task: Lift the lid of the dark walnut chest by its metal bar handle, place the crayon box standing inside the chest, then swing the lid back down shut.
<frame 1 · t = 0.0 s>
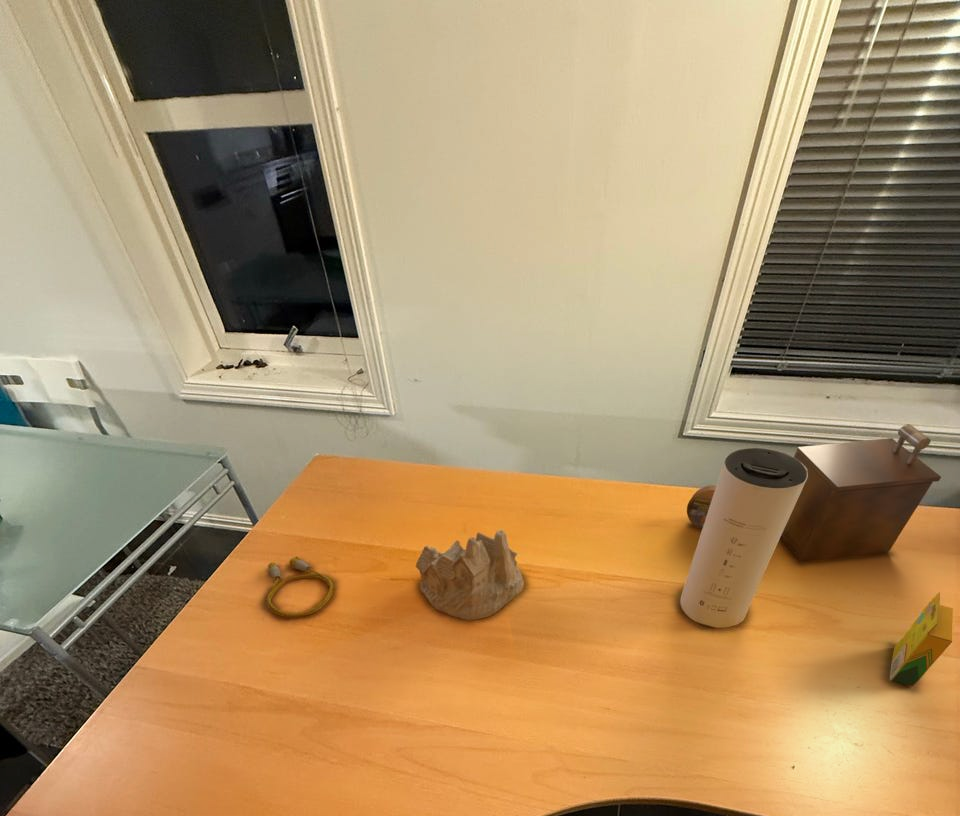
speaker: (712, 608, 90), on the table
ceramic cottage: (472, 587, 96), on the table
extension cord: (300, 590, 98), on the table
lid: (871, 450, 88), point 17 cm above the table, hinge at 0.0°
tin: (723, 530, 103), on the table
crayon box: (901, 668, 79), on the table
chest: (825, 537, 100), on the table
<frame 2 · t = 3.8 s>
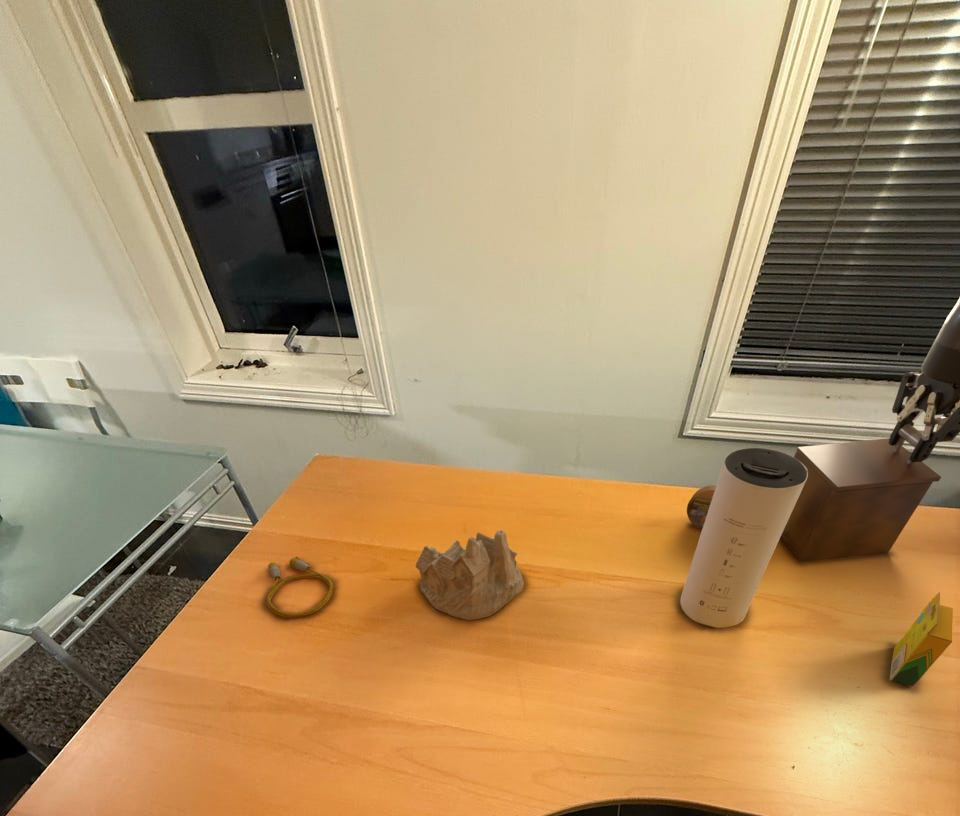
hand: (905, 451, 88), 16 cm above the table, tool pointing down, fingers closed on lid, 5 cm apart
lid: (871, 450, 88), point 17 cm above the table, hinge at 0.0°, touching gripper
everything else where it was.
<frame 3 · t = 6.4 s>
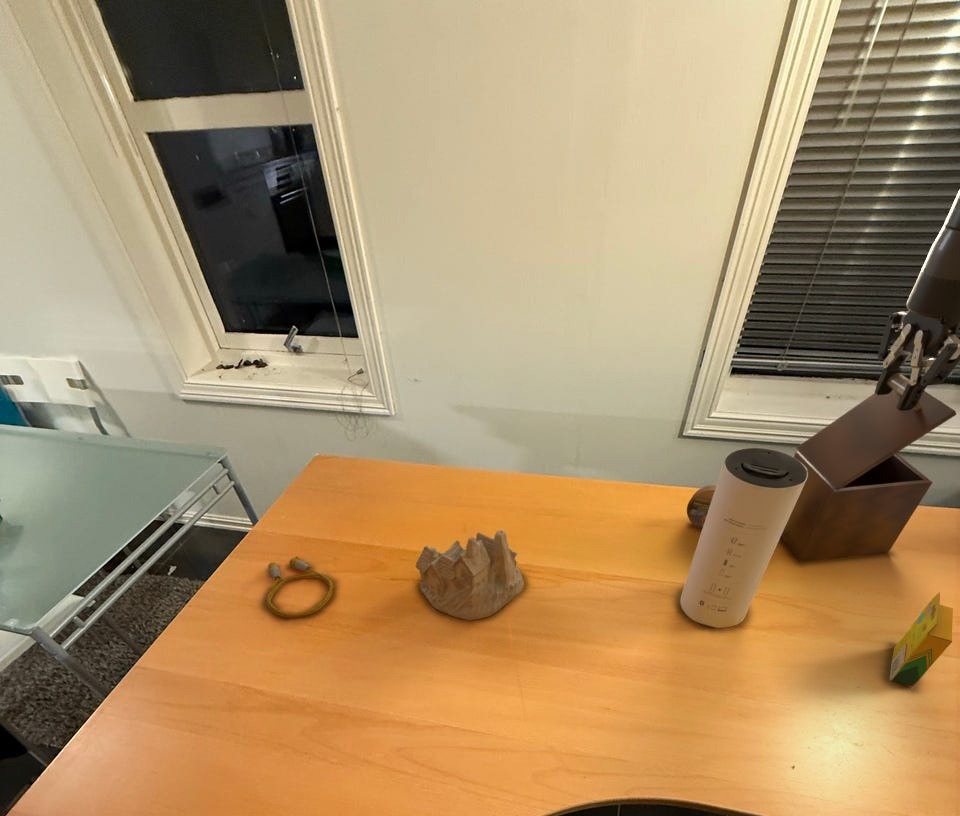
hand: (892, 400, 82), 25 cm above the table, tool pointing down, fingers closed on lid, 5 cm apart
lid: (864, 422, 84), point 22 cm above the table, hinge at 41.3°, touching gripper
everything else where it was.
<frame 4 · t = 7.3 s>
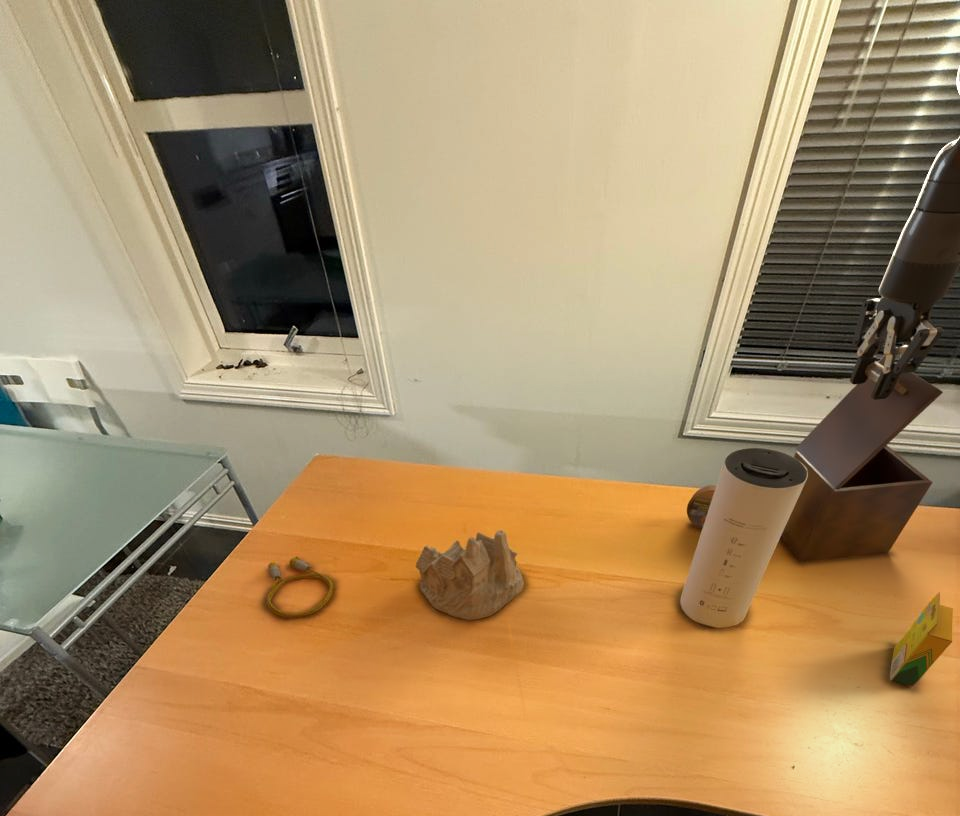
hand: (867, 389, 80), 27 cm above the table, tool pointing down, fingers closed on lid, 5 cm apart
lid: (851, 417, 83), point 23 cm above the table, hinge at 59.7°, touching gripper
everything else where it was.
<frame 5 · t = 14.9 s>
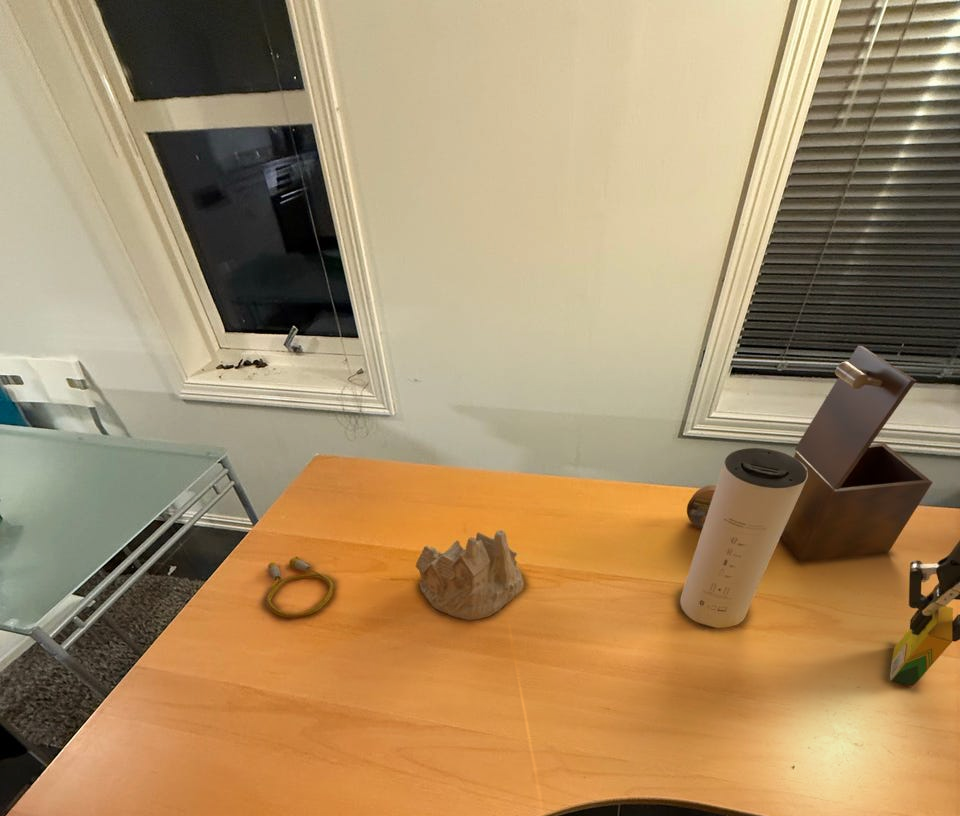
hand: (929, 634, 74), 7 cm above the table, tool pointing down, fingers closed on crayon box, 3 cm apart
lid: (835, 417, 83), point 23 cm above the table, hinge at 78.0°
crayon box: (901, 668, 79), on the table, touching gripper
everything else where it was.
when the fingers open (8 cm above the table, at t = 26.2 s): crayon box stays where it is, resting on chest.
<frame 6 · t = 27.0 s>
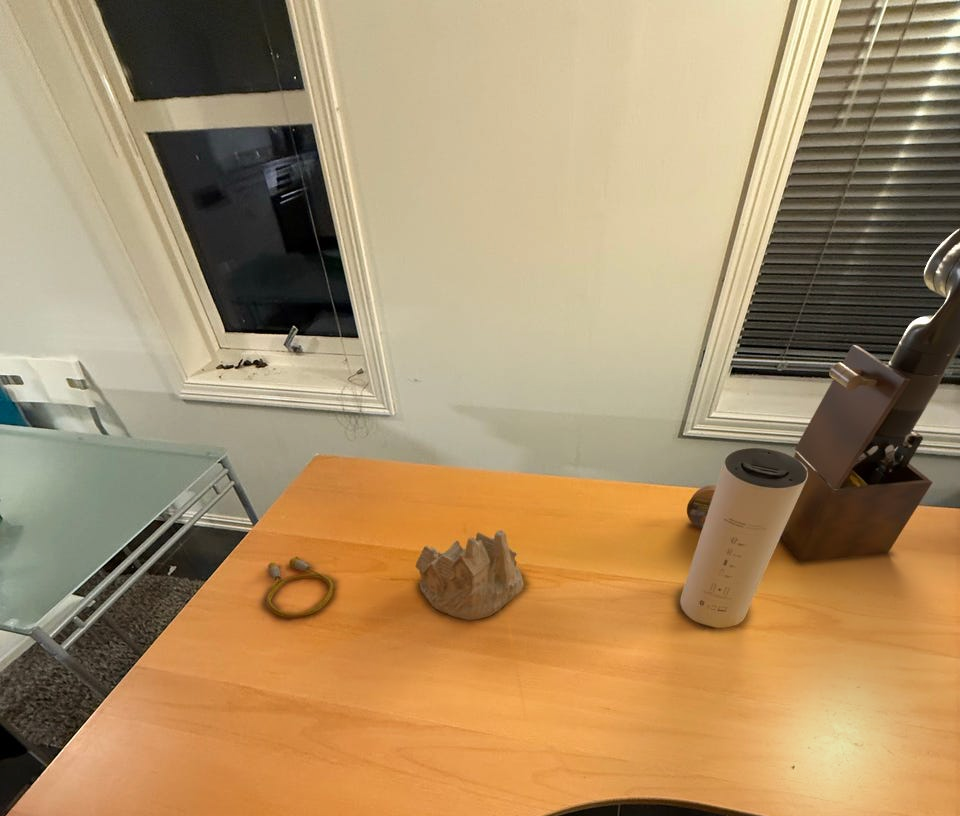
hand: (846, 492, 93), 9 cm above the table, tool pointing down, fingers open, 8 cm apart
lid: (831, 417, 83), point 23 cm above the table, hinge at 81.3°
crayon box: (834, 533, 100), point 1 cm above the table, touching chest
everything else where it was.
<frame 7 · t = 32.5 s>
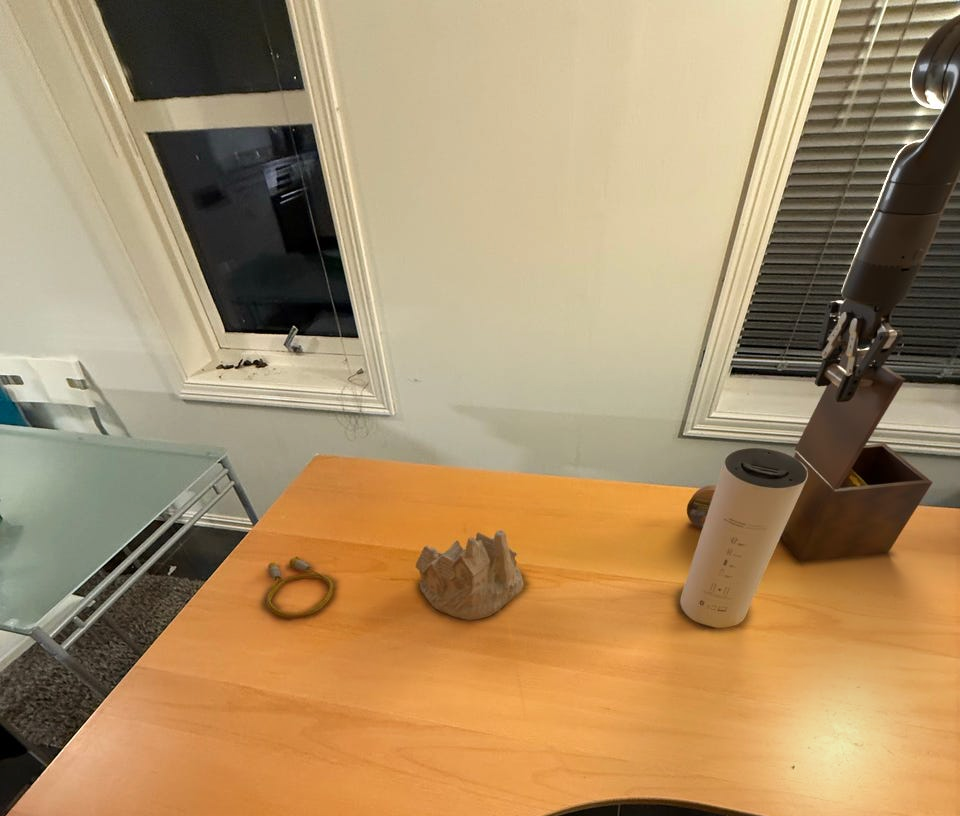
hand: (831, 392, 80), 27 cm above the table, tool pointing down, fingers closed on lid, 5 cm apart
lid: (829, 418, 83), point 23 cm above the table, hinge at 83.9°, touching gripper
everything else where it was.
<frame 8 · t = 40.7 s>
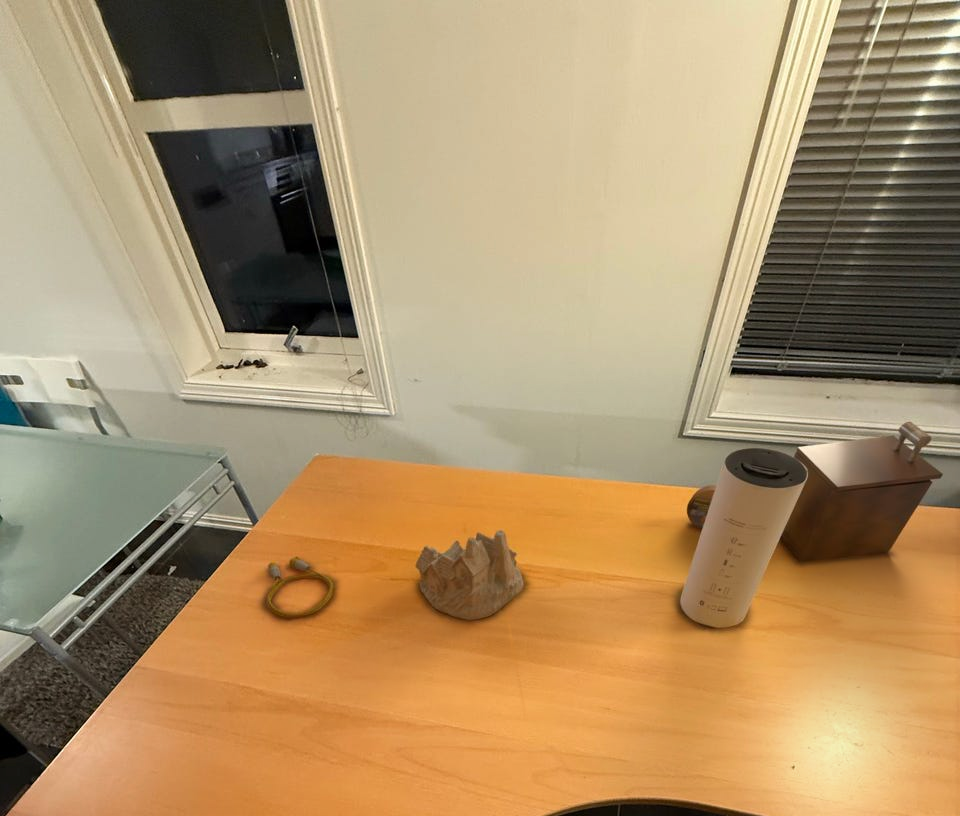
lid: (872, 449, 88), point 17 cm above the table, hinge at 1.7°
everything else where it was.
at the end: lid reached +84° during the clip, +2° at the end; crayon box inside the target area in the chest (1.6 cm from its centre), point 0.7 cm above the chest's base; lid at +2° (first picture: +0°) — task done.
